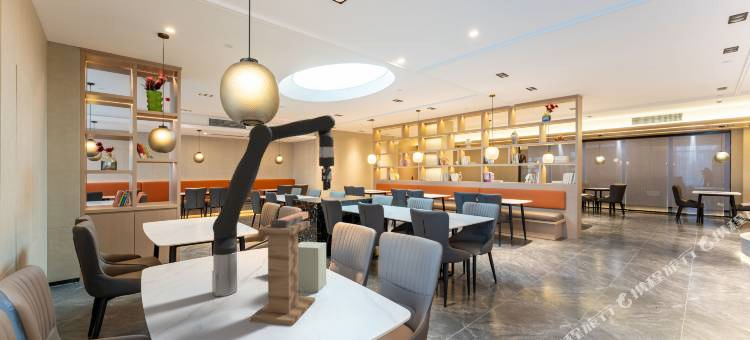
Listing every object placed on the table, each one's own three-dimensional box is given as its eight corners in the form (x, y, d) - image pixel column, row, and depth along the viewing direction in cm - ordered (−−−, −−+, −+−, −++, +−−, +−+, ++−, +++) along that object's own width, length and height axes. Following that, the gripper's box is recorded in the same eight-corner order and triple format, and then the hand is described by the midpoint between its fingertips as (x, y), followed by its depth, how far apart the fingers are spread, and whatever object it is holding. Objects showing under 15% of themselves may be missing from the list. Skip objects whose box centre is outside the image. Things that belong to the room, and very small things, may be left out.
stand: (293, 325, 108) (292, 223, 108) (250, 321, 111) (249, 222, 111) (315, 301, 128) (314, 215, 128) (278, 298, 131) (277, 214, 131)
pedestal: (318, 292, 137) (318, 248, 137) (292, 290, 140) (292, 246, 139) (326, 284, 147) (326, 242, 147) (301, 282, 149) (301, 241, 149)
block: (284, 226, 116) (284, 219, 116) (276, 226, 117) (276, 219, 117) (308, 217, 138) (308, 211, 138) (301, 217, 139) (301, 211, 139)
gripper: (321, 157, 164) (322, 188, 164) (315, 156, 150) (316, 190, 150) (336, 157, 164) (336, 188, 164) (331, 156, 150) (332, 190, 150)
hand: (326, 189), depth 157 cm, fingers open, 8 cm apart
